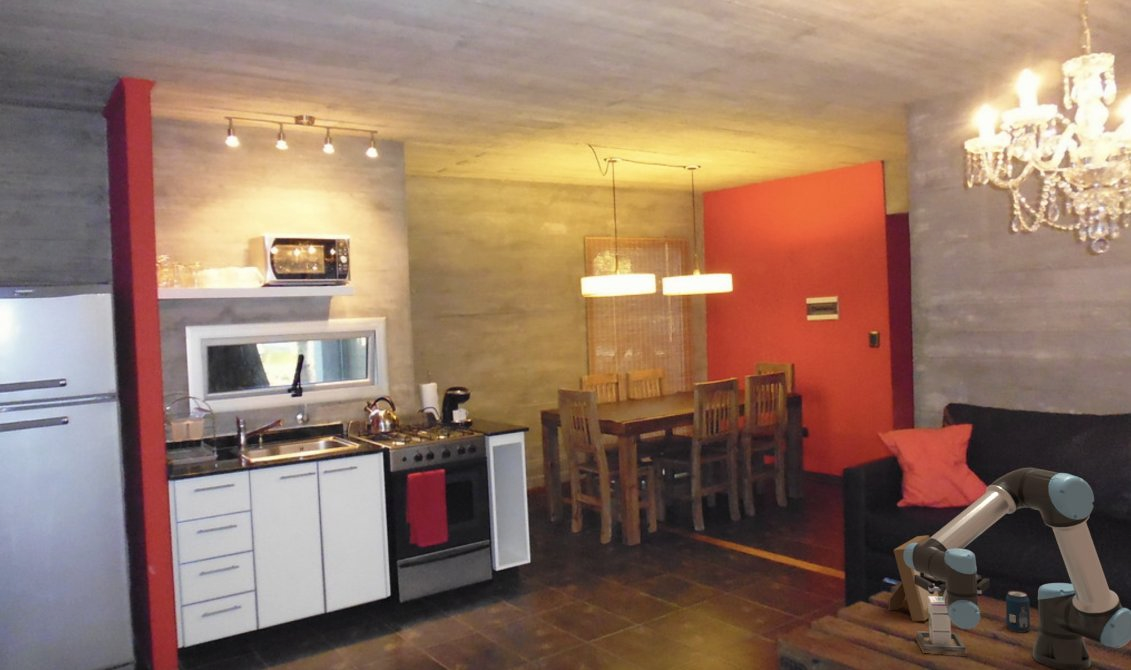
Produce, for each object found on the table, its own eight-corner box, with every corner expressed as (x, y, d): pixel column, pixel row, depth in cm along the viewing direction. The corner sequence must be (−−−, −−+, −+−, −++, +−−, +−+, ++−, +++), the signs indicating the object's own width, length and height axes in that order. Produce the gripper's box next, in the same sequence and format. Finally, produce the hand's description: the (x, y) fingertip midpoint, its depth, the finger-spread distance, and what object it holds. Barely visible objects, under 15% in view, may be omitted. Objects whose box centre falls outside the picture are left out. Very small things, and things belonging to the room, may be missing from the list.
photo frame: (947, 605, 303) (944, 537, 303) (924, 623, 287) (921, 551, 287) (906, 598, 313) (903, 531, 313) (882, 614, 297) (879, 545, 297)
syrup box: (951, 647, 264) (950, 602, 264) (931, 646, 265) (930, 601, 265) (948, 640, 270) (946, 596, 269) (928, 639, 271) (927, 595, 271)
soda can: (1013, 623, 285) (1012, 588, 284) (1034, 629, 279) (1033, 594, 278) (1002, 628, 281) (1001, 593, 281) (1022, 634, 275) (1022, 598, 275)
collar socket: (957, 640, 272) (957, 632, 272) (967, 656, 260) (967, 648, 260) (915, 638, 275) (915, 630, 275) (923, 653, 263) (922, 646, 263)
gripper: (910, 607, 237) (904, 582, 257) (1007, 612, 229) (994, 587, 249) (908, 581, 237) (903, 558, 257) (1006, 585, 229) (993, 562, 249)
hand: (948, 572), depth 253 cm, fingers open, 13 cm apart
